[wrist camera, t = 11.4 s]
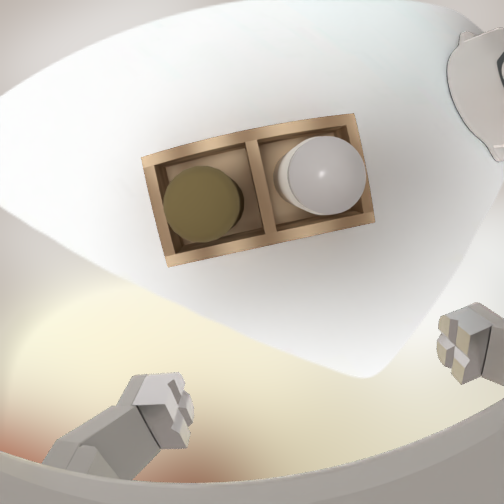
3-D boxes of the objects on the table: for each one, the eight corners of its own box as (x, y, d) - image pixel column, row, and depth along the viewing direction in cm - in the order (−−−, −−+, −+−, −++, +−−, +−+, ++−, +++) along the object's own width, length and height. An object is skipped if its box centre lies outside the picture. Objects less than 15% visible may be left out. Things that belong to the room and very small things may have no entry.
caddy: (337, 123, 29) (354, 113, 24) (356, 216, 31) (375, 222, 26) (156, 161, 30) (140, 157, 25) (178, 254, 32) (167, 267, 27)
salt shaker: (322, 145, 29) (358, 127, 19) (334, 199, 30) (375, 208, 20) (267, 155, 29) (278, 141, 19) (280, 211, 30) (297, 225, 20)
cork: (178, 177, 29) (145, 164, 18) (240, 168, 29) (240, 149, 18) (187, 238, 30) (158, 258, 19) (248, 230, 30) (252, 245, 19)
